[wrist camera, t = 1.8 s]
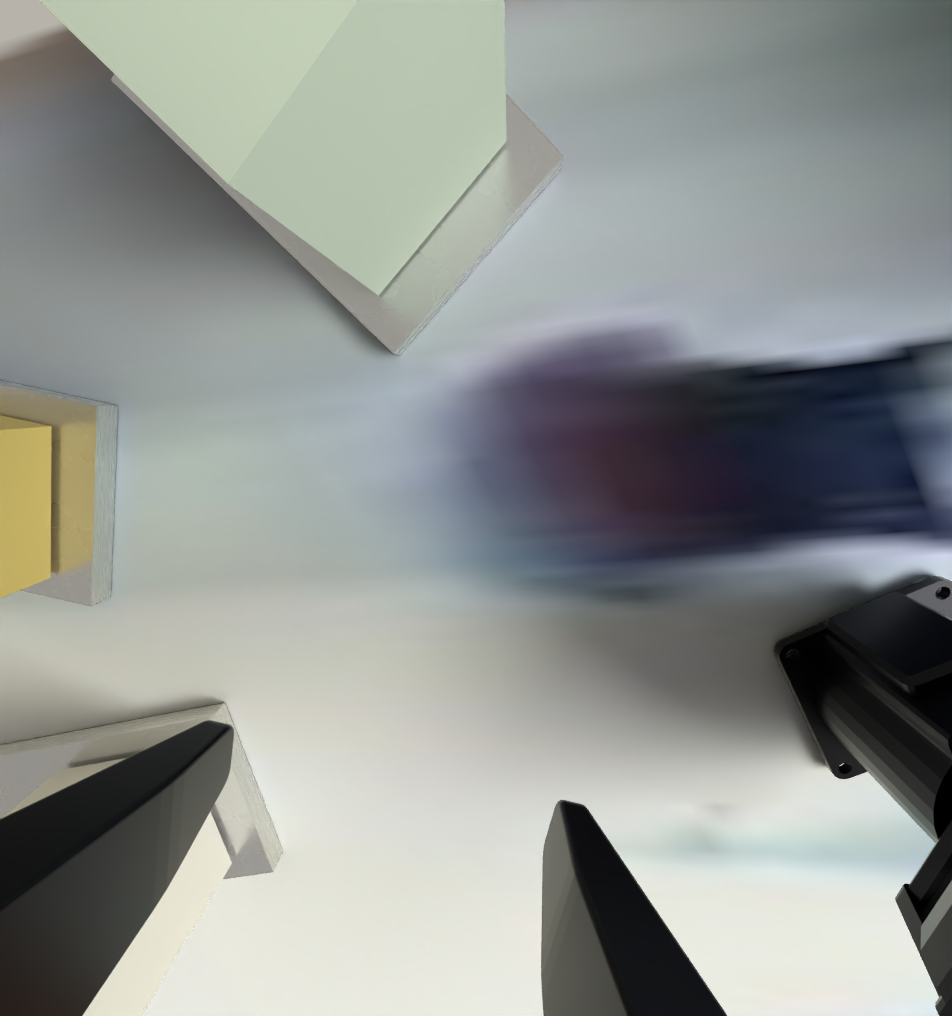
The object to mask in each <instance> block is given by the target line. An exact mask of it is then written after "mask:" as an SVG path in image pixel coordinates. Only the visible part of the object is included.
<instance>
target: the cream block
mask: <svg viewBox="0 0 952 1016" xmlns="http://www.w3.org/2000/svg"><path fill="white" fill-rule="evenodd" d="M124 759H126V758H123V759H118V760H112V761H107V762H101V763H95V764H90V765H84V766H79V767H73V768H67V769H62V770H59V771H57V772H56V773H55V774H54V775H53V776H51V777H50V778H49V779H48V780H47V781H45V782H44V783H43V784H42V785H41V786H39V787H38V788H37V789H36V790H35V791H33V792H32V793H31V794H30V795H29V796H27V797H26V798H25V799H24V800H23V801H21V802H20V803H19V804H18V805H17V806H15V807H14V808H13V809H12V810H11V811H9V812H8V813H7V814H6V815H5V816H7V815H9V814H11V813H13V812H16V811H18V810H20V809H22V808H24V807H26V806H28V805H30V804H32V803H34V802H36V801H39V800H41V799H43V798H45V797H47V796H49V795H51V794H53V793H55V792H57V791H59V790H61V789H64V788H66V787H68V786H70V785H72V784H74V783H76V782H78V781H80V780H82V779H84V778H86V777H89V776H91V775H93V774H95V773H97V772H99V771H101V770H103V769H105V768H107V767H109V766H111V765H114V764H116V763H118V762H120V761H122V760H124ZM5 816H3V817H5ZM3 817H2V818H3ZM231 864H232V862H231V859H230V857H229V855H228V852H227V850H226V847H225V845H224V843H223V840H222V838H221V835H220V833H219V831H218V828H217V826H216V823H215V821H214V819H213V816H212V814H211V811H210V813H209V815H208V817H207V819H206V820H205V822H204V824H203V826H202V828H201V829H200V831H199V833H198V835H197V837H196V838H195V840H194V842H193V844H192V846H191V847H190V849H189V851H188V853H187V855H186V857H185V858H184V860H183V862H182V864H181V866H180V867H179V869H178V871H177V873H176V875H175V876H174V878H173V880H172V881H171V883H170V885H169V887H168V888H167V890H166V892H165V893H164V895H163V896H162V898H161V900H160V901H159V903H158V904H157V906H156V907H155V909H154V910H153V912H152V913H151V915H150V916H149V918H148V919H147V921H146V922H145V924H144V925H143V927H142V928H141V930H140V931H139V933H138V934H137V936H136V937H135V939H134V940H133V942H132V943H131V945H130V946H129V948H128V949H127V951H126V952H125V953H124V955H123V956H122V958H121V959H120V961H119V962H118V964H117V965H116V967H115V968H114V970H113V971H112V973H111V974H110V976H109V977H108V979H107V980H106V982H105V983H104V985H103V986H102V988H101V989H100V991H99V992H98V994H97V995H96V997H95V998H94V999H93V1001H92V1002H91V1004H90V1005H89V1007H88V1008H87V1010H86V1011H85V1013H84V1014H83V1016H142V1014H143V1013H144V1011H145V1009H146V1008H147V1006H148V1004H149V1002H150V1001H151V999H152V997H153V996H154V994H155V992H156V991H157V989H158V987H159V986H160V984H161V982H162V981H163V979H164V977H165V975H166V974H167V972H168V970H169V969H170V967H171V965H172V964H173V962H174V960H175V959H176V957H177V955H178V954H179V952H180V950H181V948H182V947H183V945H184V943H185V942H186V940H187V938H188V937H189V935H190V933H191V932H192V930H193V928H194V927H195V925H196V923H197V921H198V920H199V918H200V916H201V915H202V913H203V911H204V910H205V908H206V906H207V905H208V903H209V901H210V900H211V898H212V896H213V894H214V893H215V891H216V889H217V888H218V886H219V884H220V883H221V881H222V879H223V878H224V876H225V874H226V873H227V871H228V869H229V867H230V866H231Z"/></svg>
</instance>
